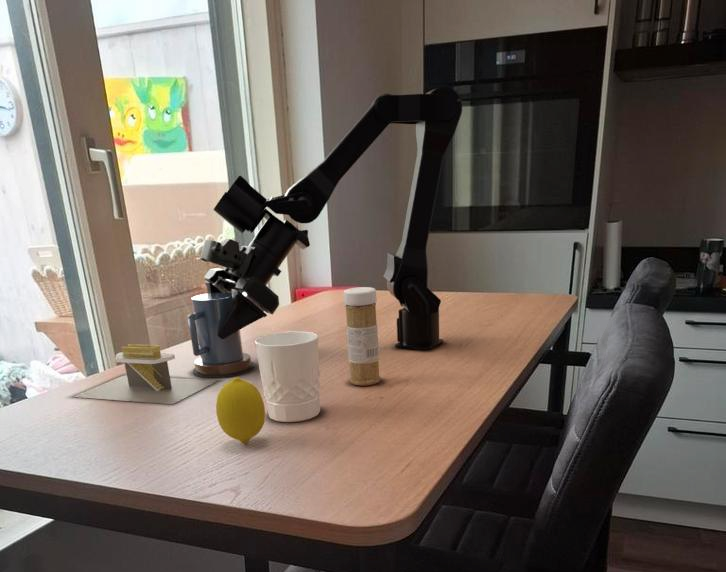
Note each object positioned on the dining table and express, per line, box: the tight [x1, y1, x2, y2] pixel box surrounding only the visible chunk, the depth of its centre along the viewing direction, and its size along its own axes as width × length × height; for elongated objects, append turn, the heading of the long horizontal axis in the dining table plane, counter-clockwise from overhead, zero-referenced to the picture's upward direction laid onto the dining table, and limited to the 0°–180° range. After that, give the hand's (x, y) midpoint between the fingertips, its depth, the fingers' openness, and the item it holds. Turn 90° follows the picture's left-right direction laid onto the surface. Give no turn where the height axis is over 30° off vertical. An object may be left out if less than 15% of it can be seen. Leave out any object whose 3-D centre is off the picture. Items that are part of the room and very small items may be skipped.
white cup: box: [254, 330, 321, 423], centre depth 89 cm, size 8×8×10 cm
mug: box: [187, 293, 252, 375], centre depth 111 cm, size 11×9×12 cm
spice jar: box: [343, 286, 381, 386], centre depth 100 cm, size 5×5×13 cm
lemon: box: [215, 376, 266, 444], centre depth 81 cm, size 6×6×8 cm
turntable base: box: [192, 361, 256, 379], centre depth 115 cm, size 10×10×1 cm
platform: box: [72, 343, 218, 405], centre depth 105 cm, size 12×18×7 cm, turn 68°
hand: (210, 332), depth 111 cm, fingers open, 9 cm apart
